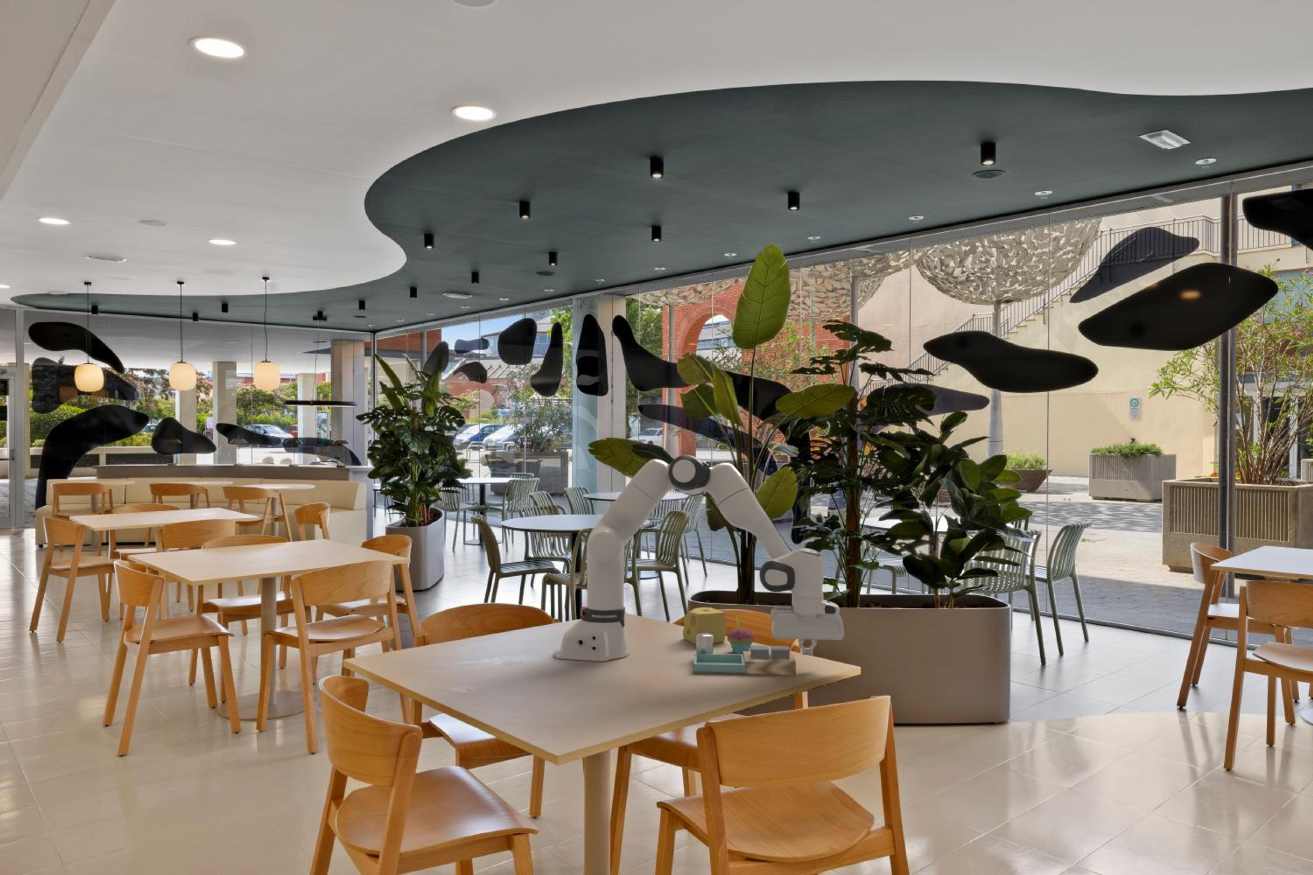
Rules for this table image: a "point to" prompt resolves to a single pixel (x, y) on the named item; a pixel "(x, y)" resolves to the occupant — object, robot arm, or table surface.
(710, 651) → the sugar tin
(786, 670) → the board
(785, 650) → the tile
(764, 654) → the tile
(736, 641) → the cupcake
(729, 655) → the tray
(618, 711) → the table surface
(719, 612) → the cheese
